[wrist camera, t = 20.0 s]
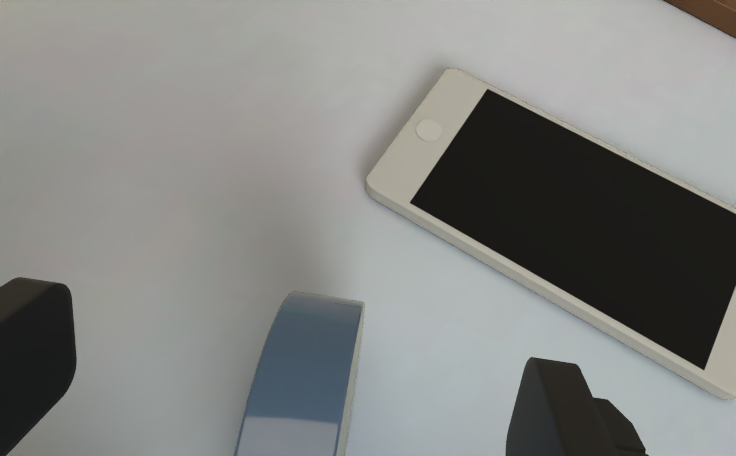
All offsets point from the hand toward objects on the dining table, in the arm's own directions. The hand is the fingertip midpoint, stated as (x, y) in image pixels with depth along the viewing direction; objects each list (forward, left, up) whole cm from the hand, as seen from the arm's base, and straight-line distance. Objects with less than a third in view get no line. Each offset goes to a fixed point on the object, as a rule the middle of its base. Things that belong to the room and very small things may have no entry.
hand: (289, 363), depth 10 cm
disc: (-1, +1, -6) cm, 6 cm away
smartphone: (-3, -12, -10) cm, 16 cm away
